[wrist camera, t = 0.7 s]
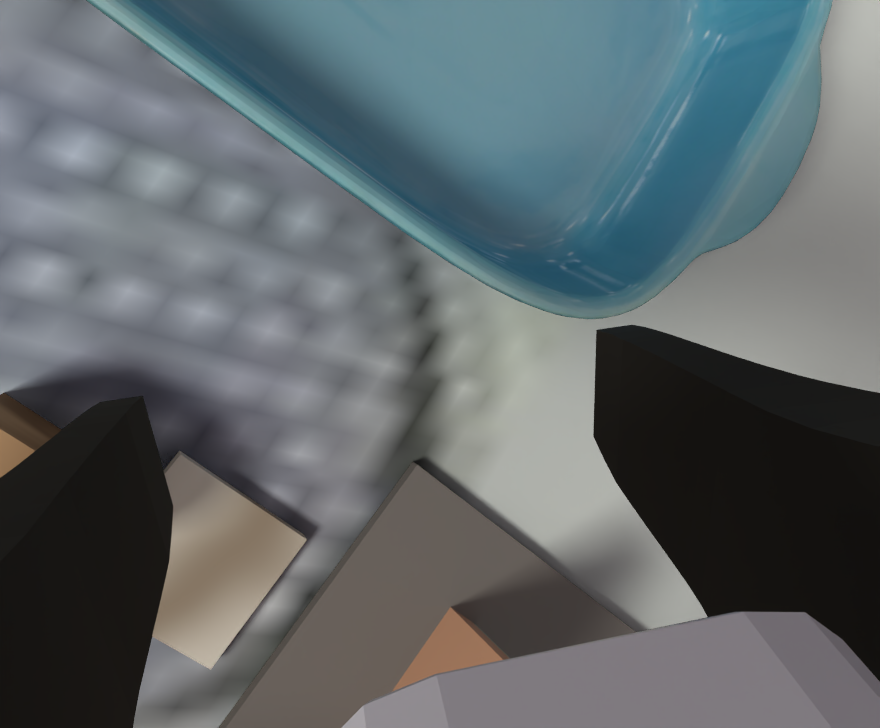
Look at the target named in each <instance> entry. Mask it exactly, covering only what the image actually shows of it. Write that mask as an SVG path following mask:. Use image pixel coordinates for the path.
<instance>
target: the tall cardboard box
mask: <svg viewBox="0 0 880 728" xmlns="http://www.w3.org/2000/svg"><path fill="white" fill-rule="evenodd" d="M60 431H61V429H59V428H58V427H56V426H55V425H53V424H52V423H50V422H49V421H47V420H45V419H44V418H42V417H41V416H39V415H38V414H36V413H35V412H33V411H32V410H30V409H28V408H27V407H25V406H24V405H22V404H21V403H19V402H18V401H16V400H14V399H13V398H11V397H10V396H8V395H7V394H5V393H3V394H1V395H0V477H2V476H3V475H5V474H6V473H7V472H9V471H10V470H12V469H13V468H14V467H16V466H17V465H18V464H19V463H21V462H22V461H23V460H24V459H26V458H27V457H28V456H30V455H31V454H32V453H33V452H35V451H36V450H37V449H38V448H40V447H41V446H42V445H43V444H45V443H46V442H47V441H49V440H50V439H51V438H52V437H54V436H55V435H56V434H57V433H59V432H60ZM164 474H165V478H166V481H167V485H168V489H169V492H170V496H171V499H172V503H173V521H172V537H171V548H170V559H169V565H168V570H167V574H166V579H165V583H164V588H163V592H162V596H161V601H160V605H159V609H158V614H157V618H156V622H155V626H154V630H153V635H152V637H154V638H156V639H158V640H159V641H161V642H163V643H165V644H167V645H168V646H170V647H172V648H174V649H175V650H177V651H179V652H181V653H182V654H184V655H186V656H188V657H189V658H191V659H193V660H195V661H196V662H198V663H200V664H202V665H204V666H205V667H207V668H209V669H211V668H212V667H213V666H214V664H215V663H216V662H217V660H218V659H219V658H220V656H221V655H222V654H223V652H224V651H225V650H226V648H227V647H228V645H229V644H230V643H231V641H232V640H233V639H234V637H235V636H236V635H237V633H238V632H239V631H240V629H241V628H242V627H243V625H244V624H245V623H246V621H247V620H248V619H249V617H250V616H251V614H252V613H253V612H254V610H255V609H256V608H257V606H258V605H259V604H260V602H261V601H262V600H263V598H264V597H265V596H266V594H267V593H268V592H269V590H270V589H271V588H272V586H273V585H274V583H275V582H276V581H277V579H278V578H279V577H280V575H281V574H282V573H283V571H284V570H285V569H286V567H287V566H288V565H289V563H290V562H291V561H292V559H293V558H294V557H295V555H296V554H297V552H298V551H299V550H300V548H301V547H302V546H303V544H304V543H305V542H306V540H307V539H306V537H305V536H304V534H302V533H301V532H299V531H298V530H297V529H295V528H294V527H292V526H291V525H289V524H288V523H286V522H285V521H283V520H282V519H280V518H279V517H277V516H276V515H274V514H273V513H271V512H270V511H268V510H267V509H265V508H264V507H262V506H261V505H259V504H258V503H257V502H255V501H254V500H252V499H251V498H249V497H248V496H246V495H245V494H243V493H242V492H240V491H239V490H237V489H236V488H234V487H233V486H231V485H230V484H228V483H227V482H225V481H224V480H222V479H221V478H219V477H218V476H217V475H215V474H214V473H212V472H211V471H209V470H208V469H206V468H205V467H203V466H202V465H200V464H199V463H197V462H196V461H194V460H193V459H191V458H190V457H188V456H187V455H185V454H184V453H182V452H181V451H179V452H178V453H177V454H176V455H175V457H174V458H173V459H172V461H171V462H170V463H169V464H168V466H167V467H166V468H165V469H164Z"/></svg>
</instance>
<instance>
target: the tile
mask: <svg viewBox="0 0 880 728" xmlns="http://www.w3.org/2000/svg"><path fill="white" fill-rule="evenodd" d="M505 659H510V657H509V656H508V655H507V654H506V653H505V652H504V651H503V650H502V649H500V648H499V647H498V646H497V645H496V644H495V643H494V642H493V641H492V640H491V639H490V638H489V637H488V636H487V635H486V634H485V633H484V632H483V631H482V630H481V629H480V628H479V627H478V626H477V625H476V624H474V623H473V622H471V621H470V620H469V619H467V618H466V617H464V616H463V615H461V614H460V613H458V612H457V611H456V610H454V609H453V608H451V607H450V608H449V610H448V611H447V613H446V614H445V615H444V617H443V618H442V620H441V621H440V623H439V624H438V626H437V627H436V628H435V630H434V631H433V633H432V634H431V636H430V637H429V639H428V640H427V641H426V643H425V644H424V646H423V647H422V649H421V650H420V652H419V653H418V654H417V656H416V657H415V659H414V660H413V662H412V663H411V665H410V666H409V667H408V669H407V670H406V672H405V673H404V675H403V676H402V678H401V679H400V680H399V682H398V683H397V685H396V686H395V688H394V689H393V691H395V690H397V689H400V688H402V687H405V686H407V685H409V684H412V683H414V682H417V681H419V680H422V679H424V678H427V677H429V676H431V675H434V674H438V673H443V672H448V671H452V670H457V669H462V668H467V667H472V666H476V665H481V664H486V663H491V662H496V661H500V660H505Z"/></svg>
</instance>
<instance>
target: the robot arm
mask: <svg viewBox="0 0 880 728" xmlns="http://www.w3.org/2000/svg"><path fill="white" fill-rule="evenodd" d="M594 438H595V441H596V443H597V445H598V447H599V449H600V451H601V453H602V455H603V457H604V460H605V462H606V464H607V466H608V467H609V469H610V471H611V473H612V475H613V477H614V479H615V481H616V483H617V484H618V486H619V487H620V489H621V490H622V492H623V493H624V495H625V496H626V497H627V499H628V500H629V502H630V503H631V505H632V506H633V507H634V509H635V510H636V512H637V513H638V515H639V516H640V518H641V519H642V520H643V522H644V523H645V525H646V526H647V527H648V529H649V530H650V532H651V533H652V534H653V536H654V537H655V539H656V540H657V541H658V543H659V544H660V546H661V547H662V548H663V550H664V551H665V553H666V554H667V555H668V557H669V558H670V560H671V561H672V562H673V564H674V565H675V567H676V568H677V569H678V571H679V572H680V574H681V575H682V576H683V578H684V579H685V581H686V582H687V584H688V585H689V587H690V588H691V590H692V591H693V593H694V594H695V596H696V598H697V599H698V601H699V602H700V604H701V605H702V607H703V609H704V611H705V613H706V614H707V616H708V617H707V618H703V619H698V620H693V621H688V622H683V623H679V624H674V625H669V626H664V627H659V628H655V629H650V630H645V631H640V632H635V633H630V634H626V635H621V636H616V637H611V638H606V639H602V640H597V641H592V642H587V643H582V644H578V645H573V646H568V647H563V648H558V649H553V650H549V651H544V652H539V653H534V654H529V655H525V656H520V657H515V658H510V659H505V660H500V661H496V662H491V663H486V664H481V665H476V666H472V667H467V668H462V669H457V670H452V671H448V672H443V673H438V674H434V675H431V676H429V677H427V678H424V679H422V680H419V681H417V682H414V683H412V684H409V685H407V686H405V687H402V688H400V689H397V690H395V691H392V692H390V693H387V694H385V695H383V696H380V697H378V698H375V699H373V700H370V701H369V702H368V703H366V704H365V705H363V706H362V707H361V708H360V709H359V710H358V711H357V712H356V713H355V714H354V715H353V716H352V717H351V718H350V719H349V720H348V722H347V723H346V724H345V725H344V726H343V727H342V728H880V393H877V392H871V391H866V390H861V389H856V388H851V387H847V386H842V385H837V384H832V383H828V382H823V381H819V380H815V379H811V378H807V377H803V376H799V375H796V374H792V373H788V372H785V371H781V370H778V369H774V368H771V367H767V366H764V365H761V364H757V363H754V362H751V361H748V360H745V359H741V358H738V357H735V356H732V355H729V354H726V353H723V352H720V351H717V350H714V349H711V348H708V347H706V346H703V345H700V344H697V343H694V342H691V341H688V340H685V339H682V338H679V337H676V336H673V335H670V334H667V333H663V332H660V331H657V330H653V329H650V328H646V327H641V326H636V325H628V326H621V327H614V328H607V329H600V330H597V334H596V369H595V403H594ZM172 521H173V503H172V499H171V496H170V492H169V489H168V485H167V481H166V478H165V474H164V471H163V467H162V464H161V460H160V456H159V453H158V449H157V446H156V442H155V438H154V435H153V431H152V428H151V424H150V420H149V417H148V413H147V410H146V406H145V403H144V399H143V396H139V397H132V398H125V399H118V400H111V401H104V402H100V403H98V404H96V405H95V406H93V407H91V408H90V409H89V410H87V411H86V412H84V413H83V414H82V415H80V416H79V417H78V418H76V419H75V420H74V421H72V422H71V423H70V424H69V425H67V426H66V427H65V428H64V429H62V430H61V431H60V432H59V433H57V434H56V435H55V436H54V437H52V438H51V439H50V440H49V441H47V442H46V443H45V444H43V445H42V446H41V447H40V448H38V449H37V450H36V451H35V452H33V453H32V454H31V455H30V456H28V457H27V458H26V459H24V460H23V461H22V462H21V463H19V464H18V465H17V466H16V467H14V468H13V469H12V470H10V471H9V472H7V473H6V474H5V475H3V476H2V477H0V728H133V723H134V717H135V711H136V706H137V700H138V695H139V690H140V685H141V681H142V677H143V673H144V669H145V664H146V660H147V656H148V652H149V647H150V643H151V639H152V635H153V630H154V626H155V622H156V618H157V614H158V609H159V605H160V601H161V596H162V592H163V588H164V583H165V579H166V574H167V570H168V565H169V559H170V548H171V537H172Z"/></svg>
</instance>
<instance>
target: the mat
mask: <svg viewBox="0 0 880 728" xmlns="http://www.w3.org/2000/svg"><path fill="white" fill-rule="evenodd" d="M450 607H451V608H453V609H454V610H456V611H457V612H458V613H460V614H461V615H463V616H464V617H466V618H467V619H469V620H470V621H471V622H473V623H474V624H476V625H477V626H478V627H479V628H480V629H481V630H482V631H483V632H484V633H485V634H486V635H487V636H488V637H489V638H490V639H491V640H492V641H493V642H494V643H495V644H496V645H497V646H498V647H499V648H500V649H502V650H503V651H504V652H505V653H506V654H507V655H508V656H509V657H510V658H515V657H520V656H525V655H529V654H534V653H539V652H544V651H549V650H553V649H558V648H563V647H568V646H573V645H578V644H582V643H587V642H592V641H597V640H602V639H606V638H611V637H616V636H621V635H626V634H630V633H635V631H634V630H633V629H631V628H630V627H629V626H628V625H626V624H625V623H624V622H622V621H621V620H620V619H618V618H617V617H616V616H614V615H613V614H612V613H611V612H609V611H608V610H607V609H605V608H604V607H603V606H601V605H600V604H599V603H597V602H596V601H595V600H594V599H592V598H591V597H590V596H588V595H587V594H586V593H584V592H583V591H582V590H580V589H579V588H578V587H577V586H575V585H574V584H573V583H571V582H570V581H569V580H567V579H566V578H565V577H563V576H562V575H561V574H560V573H558V572H557V571H556V570H554V569H553V568H552V567H550V566H549V565H548V564H546V563H545V562H544V561H543V560H541V559H540V558H539V557H537V556H536V555H535V554H533V553H532V552H531V551H530V550H528V549H527V548H526V547H524V546H523V545H522V544H520V543H519V542H518V541H516V540H515V539H514V538H513V537H511V536H510V535H509V534H507V533H506V532H505V531H503V530H502V529H501V528H499V527H498V526H497V525H496V524H494V523H493V522H492V521H490V520H489V519H488V518H486V517H485V516H484V515H482V514H481V513H480V512H479V511H477V510H476V509H475V508H473V507H472V506H471V505H469V504H468V503H467V502H465V501H464V500H463V499H462V498H460V497H459V496H458V495H456V494H455V493H454V492H452V491H451V490H450V489H448V488H447V487H446V486H445V485H443V484H442V483H441V482H439V481H438V480H437V479H435V478H434V477H433V476H431V475H430V474H429V473H428V472H426V471H425V470H424V469H422V468H421V467H420V466H418V465H417V464H415V463H414V462H412V463H411V465H410V466H409V467H408V469H407V470H406V471H405V473H404V474H403V476H402V477H401V478H400V480H399V481H398V482H397V484H396V485H395V487H394V488H393V489H392V491H391V492H390V493H389V495H388V496H387V498H386V499H385V500H384V502H383V503H382V504H381V506H380V507H379V508H378V510H377V511H376V513H375V514H374V515H373V517H372V518H371V519H370V521H369V522H368V524H367V525H366V526H365V528H364V529H363V530H362V532H361V533H360V535H359V536H358V537H357V539H356V540H355V541H354V543H353V544H352V545H351V547H350V548H349V550H348V551H347V552H346V554H345V555H344V556H343V558H342V559H341V561H340V562H339V563H338V565H337V566H336V567H335V569H334V570H333V572H332V573H331V574H330V576H329V577H328V578H327V580H326V581H325V583H324V584H323V585H322V587H321V588H320V589H319V591H318V592H317V593H316V595H315V596H314V598H313V599H312V600H311V602H310V603H309V604H308V606H307V607H306V609H305V610H304V611H303V613H302V614H301V615H300V617H299V618H298V620H297V621H296V622H295V624H294V625H293V626H292V628H291V629H290V630H289V632H288V633H287V635H286V636H285V637H284V639H283V640H282V641H281V643H280V644H279V646H278V647H277V648H276V650H275V651H274V652H273V654H272V655H271V657H270V658H269V659H268V661H267V662H266V663H265V665H264V666H263V667H262V669H261V670H260V672H259V673H258V674H257V676H256V677H255V678H254V680H253V681H252V683H251V684H250V685H249V687H248V688H247V689H246V691H245V692H244V694H243V695H242V696H241V698H240V699H239V700H238V702H237V703H236V704H235V706H234V707H233V709H232V710H231V711H230V713H229V714H228V715H227V717H226V718H225V720H224V721H223V722H222V724H221V725H220V726H219V728H342V727H343V726H344V725H345V724H346V723H347V722H348V720H349V719H350V718H351V717H352V716H353V715H354V714H355V713H356V712H357V711H358V710H359V709H360V708H361V707H362V706H363V705H365V704H366V703H368V702H369V701H370V700H373V699H375V698H378V697H380V696H383V695H385V694H387V693H390V692H392V691H393V689H394V688H395V686H396V685H397V683H398V682H399V680H400V679H401V678H402V676H403V675H404V673H405V672H406V670H407V669H408V667H409V666H410V665H411V663H412V662H413V660H414V659H415V657H416V656H417V654H418V653H419V652H420V650H421V649H422V647H423V646H424V644H425V643H426V641H427V640H428V639H429V637H430V636H431V634H432V633H433V631H434V630H435V628H436V627H437V626H438V624H439V623H440V621H441V620H442V618H443V617H444V615H445V614H446V613H447V611H448V610H449V608H450Z"/></svg>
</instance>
